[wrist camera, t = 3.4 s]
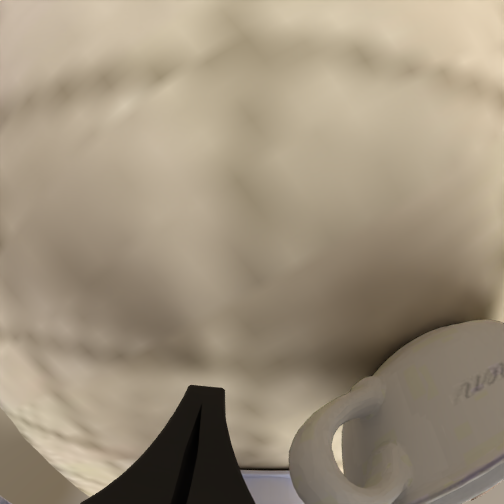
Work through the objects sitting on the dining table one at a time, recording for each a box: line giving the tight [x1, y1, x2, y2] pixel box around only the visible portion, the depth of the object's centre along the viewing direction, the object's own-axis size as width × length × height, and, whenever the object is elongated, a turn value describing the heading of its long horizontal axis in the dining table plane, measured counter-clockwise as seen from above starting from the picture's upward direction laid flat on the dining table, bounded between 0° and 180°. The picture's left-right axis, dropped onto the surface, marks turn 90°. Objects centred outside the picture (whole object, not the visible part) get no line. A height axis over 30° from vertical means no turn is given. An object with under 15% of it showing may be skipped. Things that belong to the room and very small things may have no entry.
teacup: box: [289, 320, 504, 504], centre depth 9 cm, size 14×11×8 cm
